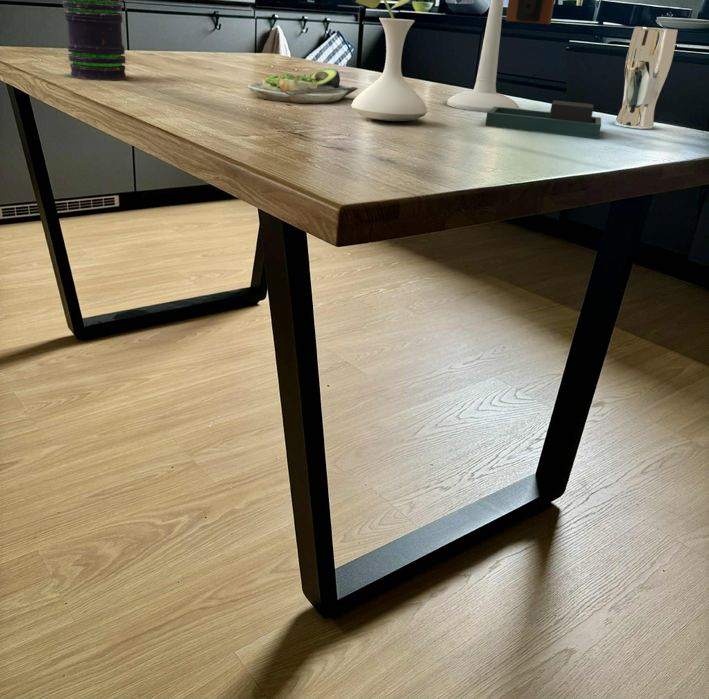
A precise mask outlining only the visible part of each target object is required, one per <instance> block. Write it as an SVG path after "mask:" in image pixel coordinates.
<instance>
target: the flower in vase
mask: <svg viewBox="0 0 709 699" xmlns="http://www.w3.org/2000/svg"><path fill="white" fill-rule="evenodd" d="M410 1H411V0H398V1H397V2H396V3H395V4H394V5H392V7H390V5H389V3H388V2H387V0H383V2H384V5H385V7H386V9H387V11H388V13H389V15H390V18H389V17H379V18H378V19H379V21H380V23H381V25H382V27H383V30H384V31H383V32H384V34H385V47H386V48H385V50H386V52H385V63H384V67H383V72H382V73H381V75H380V76H379V78H377V80H375V81H374V82H373V83H372V84H371V85H369V86H368V87H367V88H365V89H364V90H362V92H360V93H359V94H357V96H356V97H355V98H354V99H353V101H352V103H351V108H352V110H353V111H354V113H356V114H359V115H360V116H362V117H366V118H369V119H371V120H372V119H373V120H377V121H384V122H385V121H386V122H407V121H414V120H418V119H421V118H423V117H425V116H426V115H427V113H428V107H427V105H426V103H425V102H424V100H423V99H422V98H421V96H420V95H419V94H418V93H417V92H416V91H415V90H414V89H413V88H412V87H411V86H410V84H408V82H407V81H406V80H405V78H404V76H403V73H402V56H403V55H402V54H403V48H404V44H405V40H406V37H407V34H408V33H409V30H410V28H411V27H412V25H413V24H414V23H415V19H404V18H395V16H394V14H393V11H392V9H395V8H397V7H400V6H403V5H405V4H407V3H409V2H410ZM381 2H382V0H355V3H356V4H359V5H362V6H365V7H368V8H371V9H375V8H377V7H379V5H380V3H381Z"/></svg>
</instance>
